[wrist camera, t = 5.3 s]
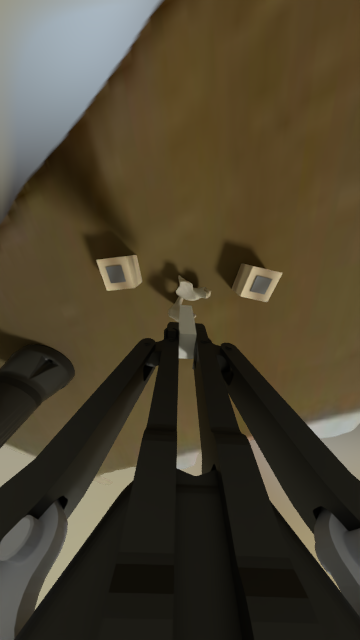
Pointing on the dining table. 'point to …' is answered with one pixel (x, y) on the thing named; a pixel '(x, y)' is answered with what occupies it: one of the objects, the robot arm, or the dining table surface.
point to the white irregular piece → (187, 296)
